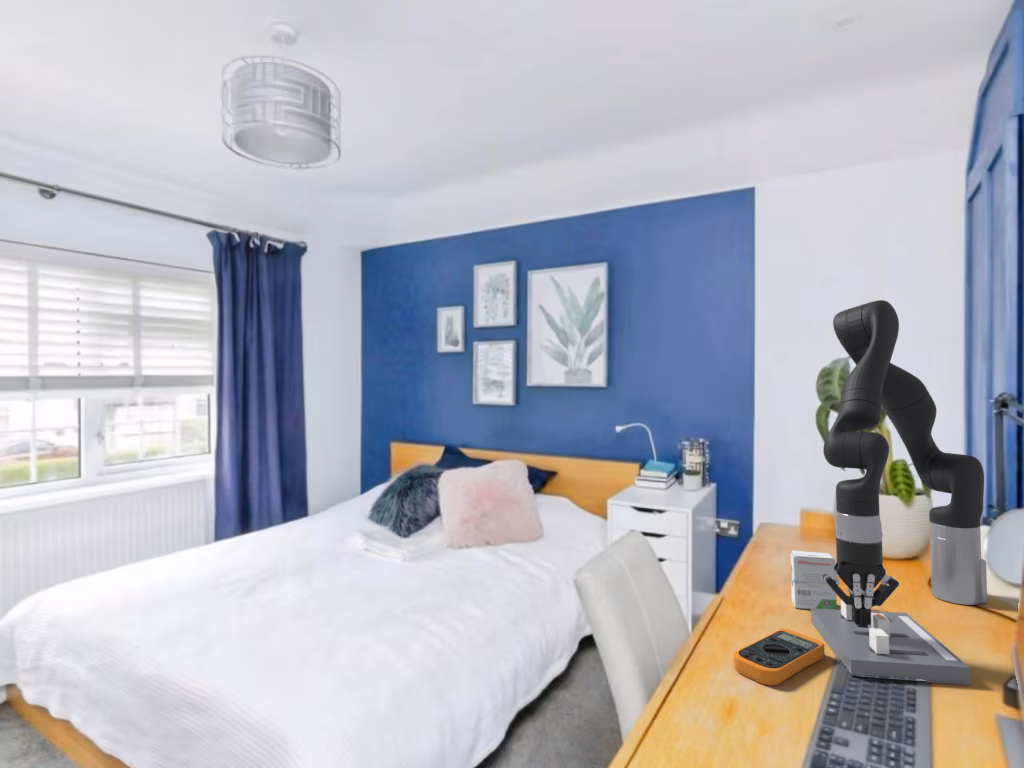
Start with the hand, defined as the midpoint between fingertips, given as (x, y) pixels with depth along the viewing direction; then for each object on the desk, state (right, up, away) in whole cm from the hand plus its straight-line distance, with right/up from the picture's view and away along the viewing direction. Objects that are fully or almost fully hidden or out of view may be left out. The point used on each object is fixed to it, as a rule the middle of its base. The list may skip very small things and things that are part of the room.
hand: (861, 625), depth 107 cm
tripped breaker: (+3, -1, -1) cm, 3 cm away
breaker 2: (-1, -1, -7) cm, 7 cm away
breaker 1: (+2, -1, +7) cm, 7 cm away
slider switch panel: (+3, -4, -1) cm, 5 cm away
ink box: (+2, -4, +20) cm, 21 cm away
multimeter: (-18, -6, -4) cm, 19 cm away
